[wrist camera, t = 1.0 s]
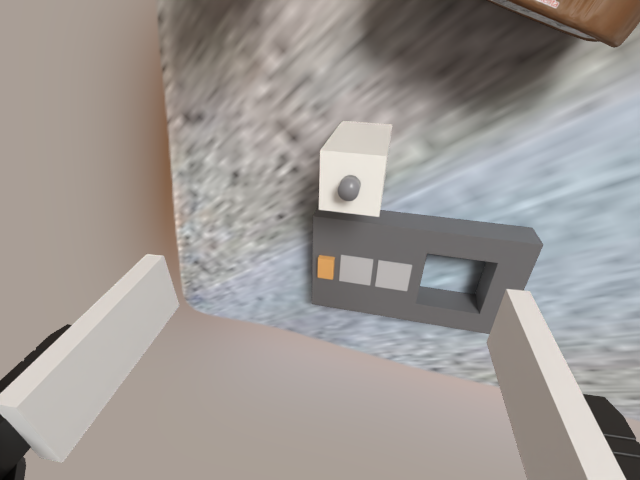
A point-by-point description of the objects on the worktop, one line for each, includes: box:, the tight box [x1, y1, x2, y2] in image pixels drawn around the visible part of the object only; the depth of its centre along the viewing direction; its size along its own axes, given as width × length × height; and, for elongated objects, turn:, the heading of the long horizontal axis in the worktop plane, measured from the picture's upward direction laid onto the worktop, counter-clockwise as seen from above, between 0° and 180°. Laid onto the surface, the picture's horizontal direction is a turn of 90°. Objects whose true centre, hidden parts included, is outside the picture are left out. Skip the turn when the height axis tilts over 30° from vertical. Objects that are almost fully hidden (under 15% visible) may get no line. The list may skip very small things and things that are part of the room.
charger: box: [319, 121, 392, 217], centre depth 27 cm, size 4×4×10 cm
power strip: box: [312, 206, 543, 334], centre depth 35 cm, size 20×11×4 cm, turn 89°
